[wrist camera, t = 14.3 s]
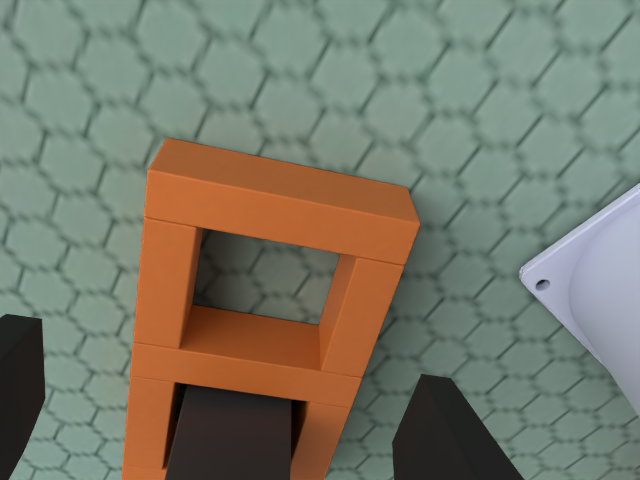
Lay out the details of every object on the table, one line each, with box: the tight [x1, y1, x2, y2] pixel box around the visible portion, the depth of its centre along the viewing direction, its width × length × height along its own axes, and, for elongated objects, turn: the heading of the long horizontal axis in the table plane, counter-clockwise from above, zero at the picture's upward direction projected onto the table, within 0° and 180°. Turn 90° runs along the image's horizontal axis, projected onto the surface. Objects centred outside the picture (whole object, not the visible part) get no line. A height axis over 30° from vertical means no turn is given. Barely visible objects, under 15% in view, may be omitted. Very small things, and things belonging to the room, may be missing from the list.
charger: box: [164, 384, 292, 480], centre depth 21 cm, size 4×4×7 cm
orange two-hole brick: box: [121, 138, 420, 480], centre depth 21 cm, size 15×8×3 cm, turn 167°
